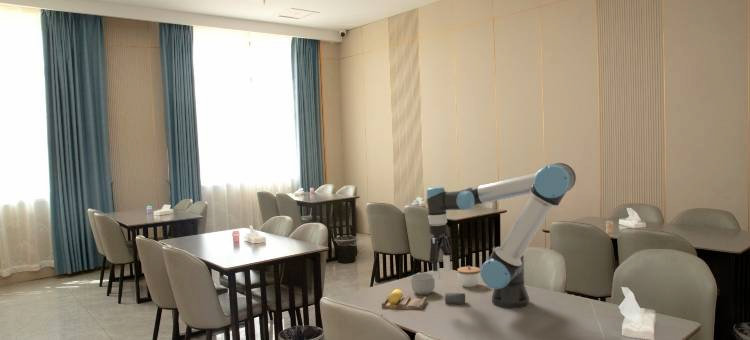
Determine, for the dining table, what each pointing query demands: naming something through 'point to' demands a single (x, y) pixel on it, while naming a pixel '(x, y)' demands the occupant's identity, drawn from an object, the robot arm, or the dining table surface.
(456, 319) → the dining table surface
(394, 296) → the yellow foam roll
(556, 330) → the dining table surface
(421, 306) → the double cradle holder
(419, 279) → the teacup
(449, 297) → the gray cylinder
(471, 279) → the lidded jar
